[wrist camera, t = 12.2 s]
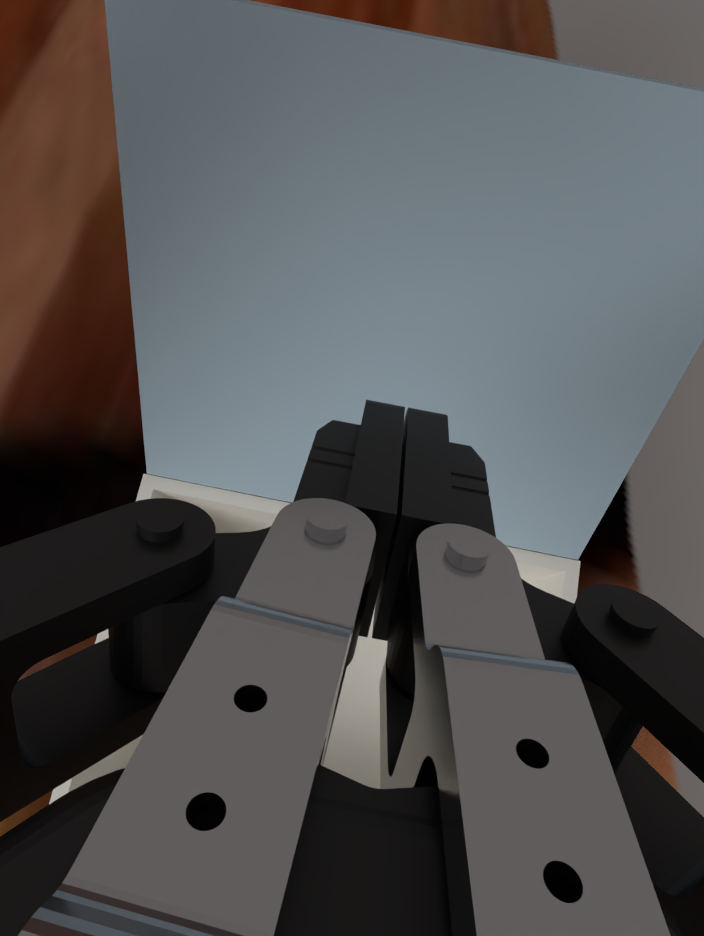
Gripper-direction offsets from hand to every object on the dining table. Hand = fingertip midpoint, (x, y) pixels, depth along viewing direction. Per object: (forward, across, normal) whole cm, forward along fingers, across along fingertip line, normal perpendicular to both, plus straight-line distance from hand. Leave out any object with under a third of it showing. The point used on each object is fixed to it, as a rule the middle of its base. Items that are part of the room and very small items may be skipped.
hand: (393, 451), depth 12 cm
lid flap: (+12, 0, +2) cm, 12 cm away
